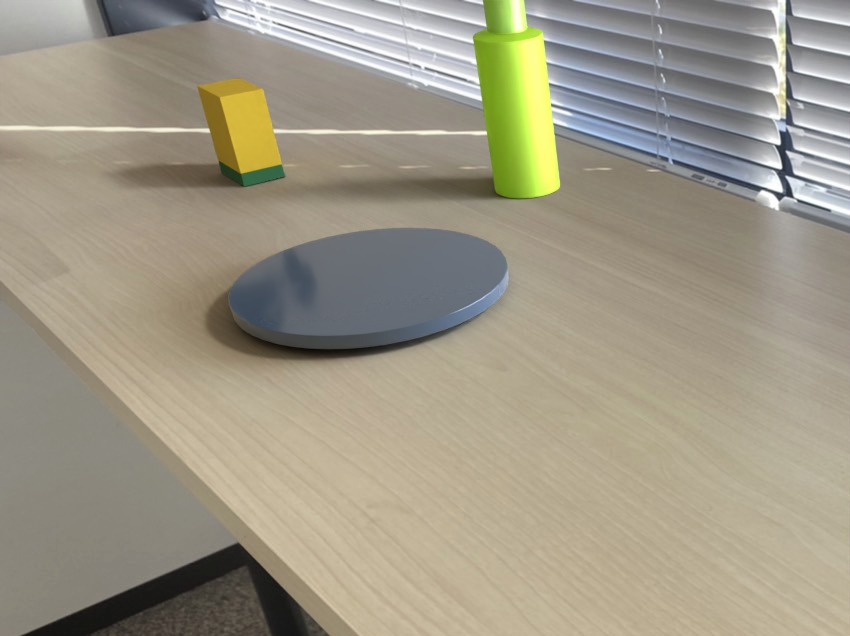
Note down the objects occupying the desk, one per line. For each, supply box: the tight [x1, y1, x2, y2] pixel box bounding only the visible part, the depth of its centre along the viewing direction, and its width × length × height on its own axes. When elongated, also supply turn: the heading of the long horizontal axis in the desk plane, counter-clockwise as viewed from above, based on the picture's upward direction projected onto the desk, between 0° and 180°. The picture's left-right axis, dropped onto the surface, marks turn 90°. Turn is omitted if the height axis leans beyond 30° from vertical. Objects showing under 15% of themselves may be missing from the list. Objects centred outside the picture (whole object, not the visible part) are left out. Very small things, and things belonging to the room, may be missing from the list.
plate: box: [227, 227, 510, 350], centre depth 86 cm, size 20×20×2 cm
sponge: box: [196, 77, 286, 187], centre depth 108 cm, size 4×6×8 cm
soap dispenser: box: [472, 0, 561, 199], centre depth 99 cm, size 6×7×20 cm
